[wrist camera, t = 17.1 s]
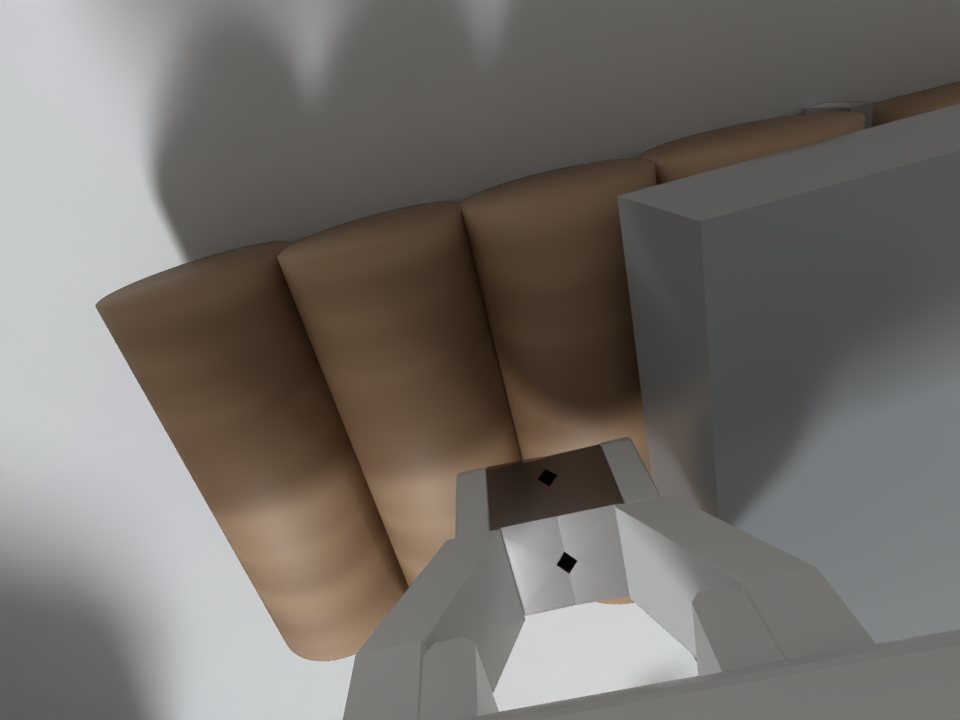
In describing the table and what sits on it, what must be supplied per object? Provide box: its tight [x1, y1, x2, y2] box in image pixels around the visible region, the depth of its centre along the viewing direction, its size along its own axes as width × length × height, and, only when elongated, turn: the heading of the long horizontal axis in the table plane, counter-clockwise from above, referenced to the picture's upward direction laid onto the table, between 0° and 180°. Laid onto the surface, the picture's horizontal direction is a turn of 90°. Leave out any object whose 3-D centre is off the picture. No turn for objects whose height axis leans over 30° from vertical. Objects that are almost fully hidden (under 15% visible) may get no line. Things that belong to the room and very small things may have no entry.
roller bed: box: [96, 102, 873, 661], centre depth 12 cm, size 9×19×4 cm, turn 103°
